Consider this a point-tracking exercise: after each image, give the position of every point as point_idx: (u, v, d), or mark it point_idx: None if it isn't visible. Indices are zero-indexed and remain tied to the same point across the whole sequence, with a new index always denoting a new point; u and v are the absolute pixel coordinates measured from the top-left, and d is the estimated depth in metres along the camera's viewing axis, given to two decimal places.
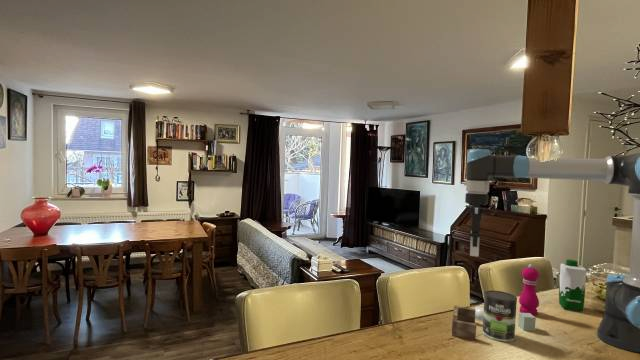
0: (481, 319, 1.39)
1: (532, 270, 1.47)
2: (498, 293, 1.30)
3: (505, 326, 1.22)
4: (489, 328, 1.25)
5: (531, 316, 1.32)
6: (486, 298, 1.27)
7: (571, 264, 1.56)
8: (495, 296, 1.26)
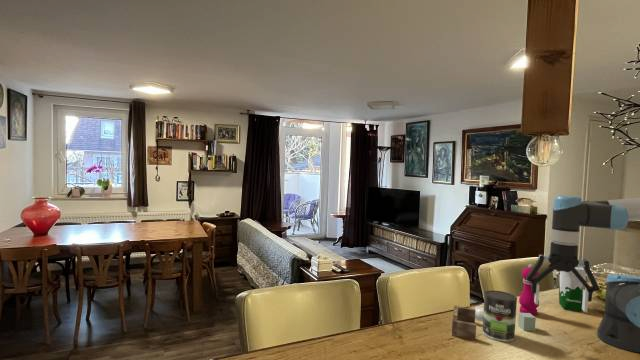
0: (481, 319, 1.39)
1: None
2: (498, 293, 1.30)
3: (505, 326, 1.22)
4: (489, 328, 1.25)
5: (531, 316, 1.32)
6: (486, 298, 1.27)
7: None
8: (495, 296, 1.26)
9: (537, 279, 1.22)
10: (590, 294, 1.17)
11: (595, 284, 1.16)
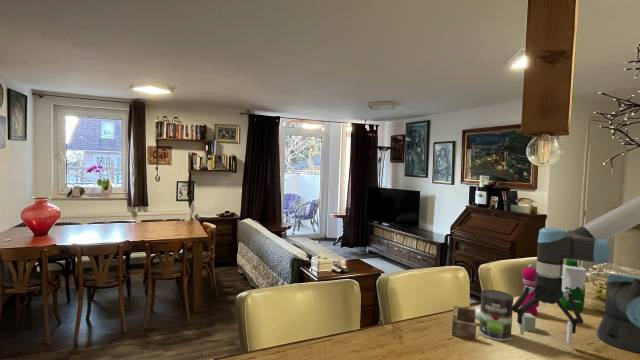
0: None
1: (532, 270, 1.47)
2: (495, 292, 1.30)
3: (501, 325, 1.23)
4: (485, 327, 1.25)
5: (531, 316, 1.32)
6: (483, 297, 1.27)
7: (571, 264, 1.56)
8: (492, 295, 1.26)
9: (523, 310, 1.23)
10: (574, 326, 1.18)
11: (579, 316, 1.17)
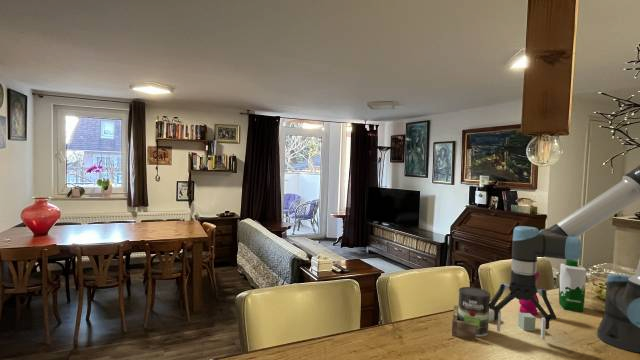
0: None
1: None
2: (473, 289, 1.33)
3: (478, 322, 1.25)
4: None
5: (531, 316, 1.32)
6: (460, 294, 1.30)
7: (571, 264, 1.56)
8: (469, 292, 1.29)
9: (498, 307, 1.26)
10: (547, 322, 1.21)
11: (552, 312, 1.20)
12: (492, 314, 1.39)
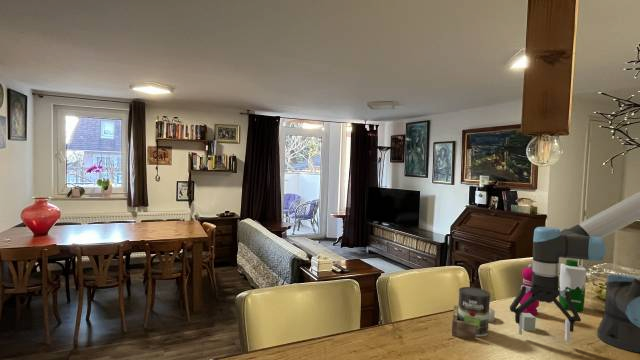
0: None
1: None
2: (473, 289, 1.33)
3: (478, 321, 1.25)
4: None
5: (531, 316, 1.32)
6: (460, 294, 1.30)
7: (571, 264, 1.56)
8: (469, 292, 1.29)
9: (520, 309, 1.24)
10: (572, 324, 1.19)
11: (576, 314, 1.18)
12: (492, 314, 1.39)
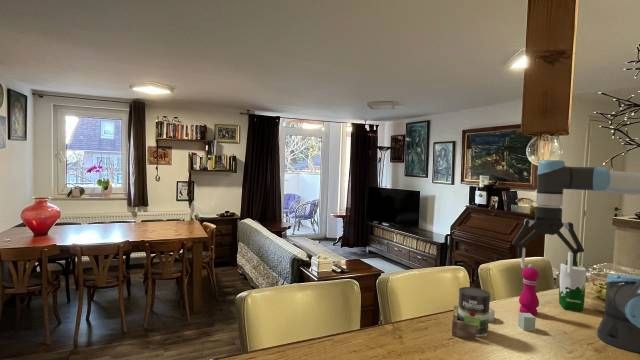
0: None
1: (532, 270, 1.47)
2: (473, 289, 1.33)
3: (478, 321, 1.25)
4: None
5: (531, 316, 1.32)
6: (460, 294, 1.30)
7: None
8: (469, 292, 1.29)
9: (523, 243, 1.23)
10: (575, 256, 1.18)
11: (579, 245, 1.17)
12: (492, 314, 1.39)
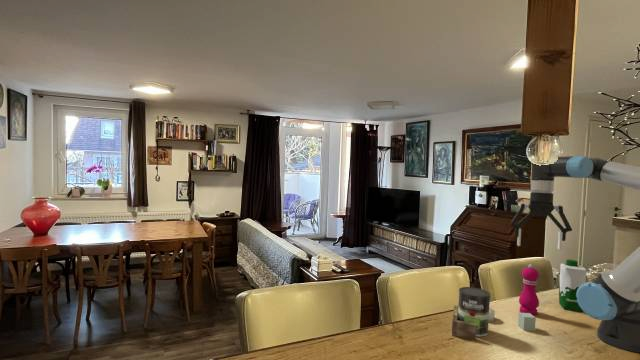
0: None
1: (532, 270, 1.47)
2: (473, 289, 1.33)
3: (478, 322, 1.25)
4: None
5: (531, 316, 1.32)
6: (460, 294, 1.30)
7: (571, 264, 1.56)
8: (469, 292, 1.29)
9: (519, 224, 1.41)
10: (564, 234, 1.36)
11: (568, 225, 1.35)
12: (492, 314, 1.39)
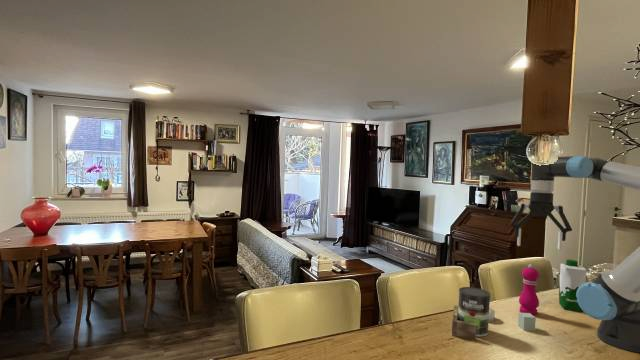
0: None
1: (532, 270, 1.47)
2: (473, 289, 1.33)
3: (478, 321, 1.25)
4: None
5: (531, 316, 1.32)
6: (460, 294, 1.30)
7: (571, 264, 1.56)
8: (469, 292, 1.29)
9: (519, 224, 1.41)
10: (564, 234, 1.36)
11: (568, 225, 1.35)
12: (492, 314, 1.39)
